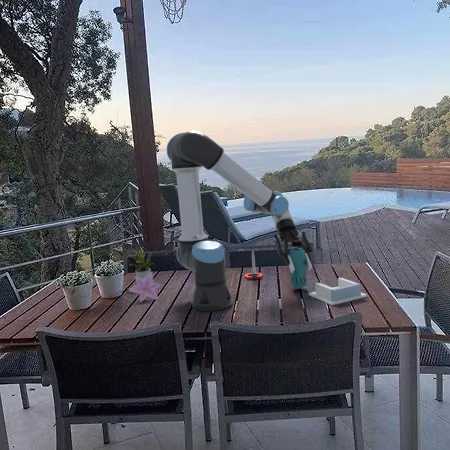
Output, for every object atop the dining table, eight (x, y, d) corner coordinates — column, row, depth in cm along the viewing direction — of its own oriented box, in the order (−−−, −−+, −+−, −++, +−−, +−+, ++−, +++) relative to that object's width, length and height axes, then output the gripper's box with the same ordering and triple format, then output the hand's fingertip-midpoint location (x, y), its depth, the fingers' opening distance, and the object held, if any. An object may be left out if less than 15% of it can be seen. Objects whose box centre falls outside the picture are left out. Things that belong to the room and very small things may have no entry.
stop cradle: (331, 305, 153) (331, 292, 152) (308, 295, 166) (308, 283, 165) (367, 296, 159) (366, 284, 159) (342, 287, 172) (342, 275, 171)
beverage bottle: (290, 292, 171) (287, 242, 168) (291, 286, 178) (289, 239, 175) (306, 292, 170) (304, 242, 167) (307, 287, 176) (305, 238, 173)
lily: (125, 304, 175) (127, 286, 170) (135, 285, 185) (137, 268, 179) (154, 311, 175) (157, 294, 170) (162, 292, 185) (165, 275, 179)
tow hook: (243, 275, 201) (245, 280, 192) (242, 248, 200) (243, 251, 191) (261, 274, 201) (264, 279, 192) (260, 247, 200) (262, 250, 191)
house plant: (120, 283, 202) (117, 249, 199) (146, 276, 211) (143, 244, 208) (136, 289, 191) (132, 253, 188) (162, 281, 200) (159, 247, 197)
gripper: (303, 226, 187) (321, 271, 174) (260, 231, 183) (276, 278, 170) (308, 215, 181) (327, 261, 168) (263, 220, 177) (280, 268, 164)
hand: (301, 269), depth 169 cm, fingers closed on beverage bottle, 6 cm apart
